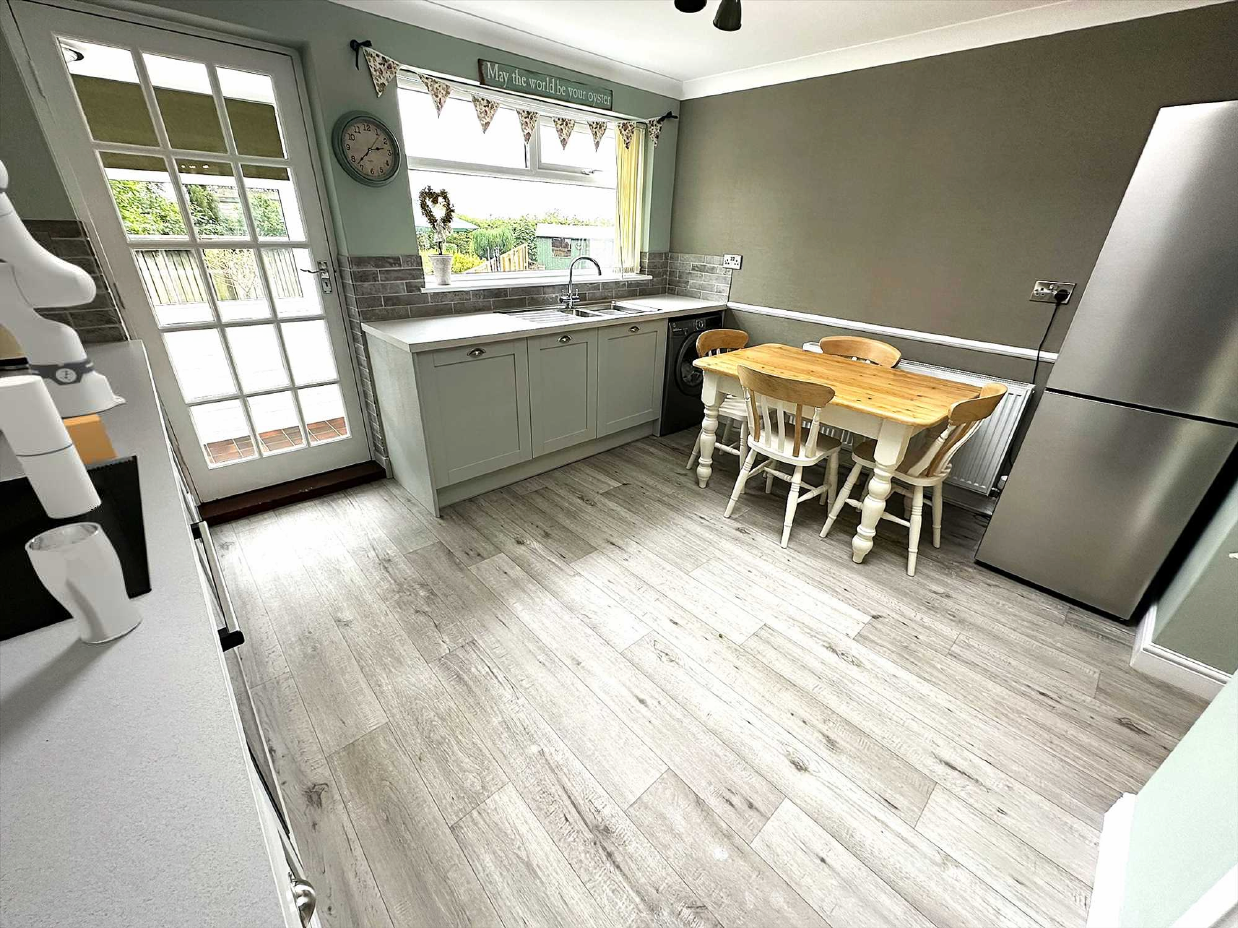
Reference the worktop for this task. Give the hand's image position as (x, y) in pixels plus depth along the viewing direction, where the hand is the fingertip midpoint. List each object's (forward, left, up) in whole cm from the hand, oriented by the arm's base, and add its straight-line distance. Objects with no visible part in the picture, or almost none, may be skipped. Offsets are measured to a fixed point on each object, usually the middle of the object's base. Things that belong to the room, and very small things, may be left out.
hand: (33, 427), depth 103 cm
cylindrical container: (+24, +1, -10) cm, 26 cm away
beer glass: (+70, +1, -10) cm, 71 cm away
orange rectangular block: (0, +7, -9) cm, 12 cm away
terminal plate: (-2, +7, -10) cm, 13 cm away
